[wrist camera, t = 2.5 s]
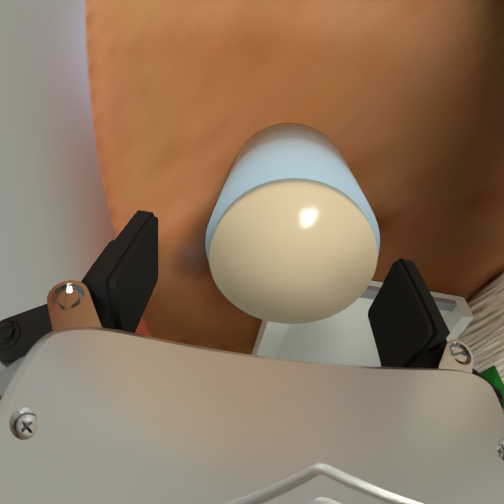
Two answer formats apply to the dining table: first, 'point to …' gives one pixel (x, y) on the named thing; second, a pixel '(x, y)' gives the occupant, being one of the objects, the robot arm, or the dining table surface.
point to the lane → (346, 332)
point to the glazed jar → (292, 229)
